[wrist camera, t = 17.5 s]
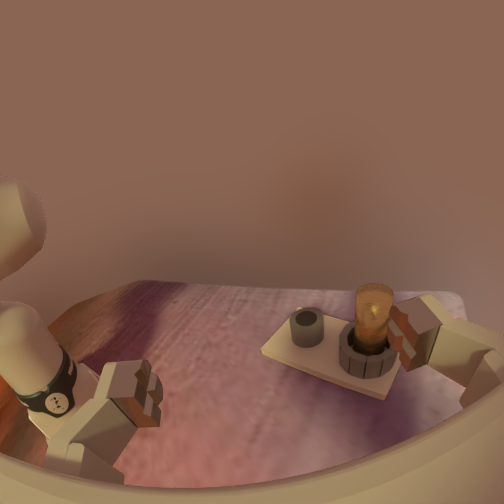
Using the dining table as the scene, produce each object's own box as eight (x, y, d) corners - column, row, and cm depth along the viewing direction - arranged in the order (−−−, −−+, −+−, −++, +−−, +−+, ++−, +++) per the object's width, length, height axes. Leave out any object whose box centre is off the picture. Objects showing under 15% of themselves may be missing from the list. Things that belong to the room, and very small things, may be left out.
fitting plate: (262, 354, 47) (256, 331, 44) (299, 312, 54) (296, 289, 52) (384, 400, 33) (391, 378, 30) (408, 344, 41) (414, 319, 38)
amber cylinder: (347, 362, 39) (351, 301, 34) (358, 341, 43) (363, 280, 37) (377, 371, 36) (388, 309, 31) (386, 348, 40) (397, 287, 34)
